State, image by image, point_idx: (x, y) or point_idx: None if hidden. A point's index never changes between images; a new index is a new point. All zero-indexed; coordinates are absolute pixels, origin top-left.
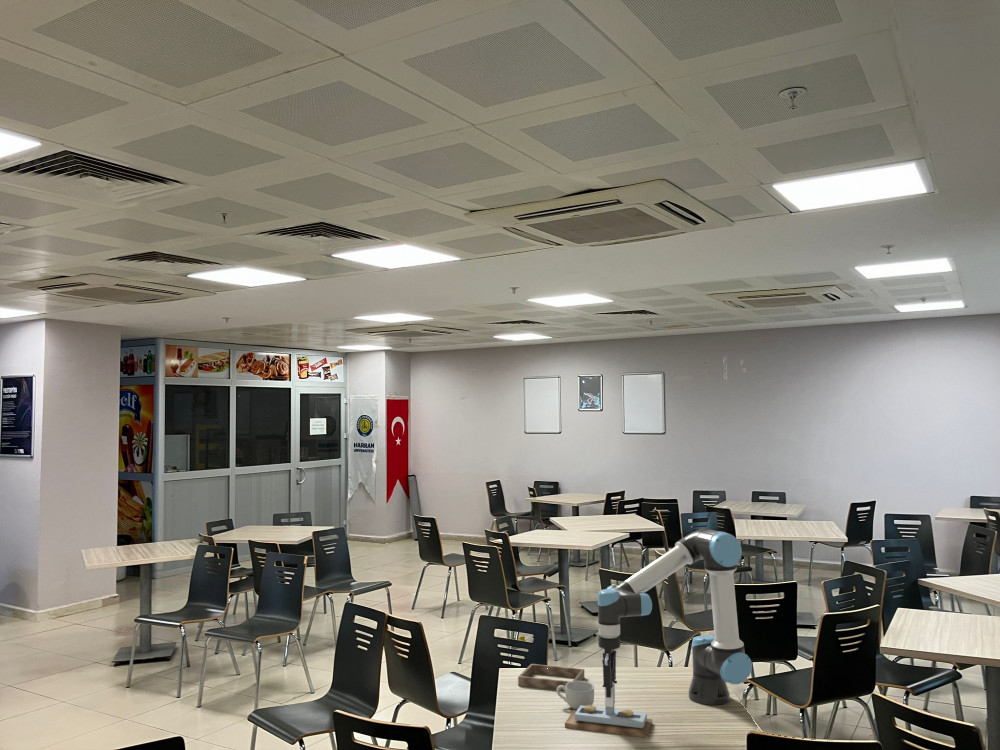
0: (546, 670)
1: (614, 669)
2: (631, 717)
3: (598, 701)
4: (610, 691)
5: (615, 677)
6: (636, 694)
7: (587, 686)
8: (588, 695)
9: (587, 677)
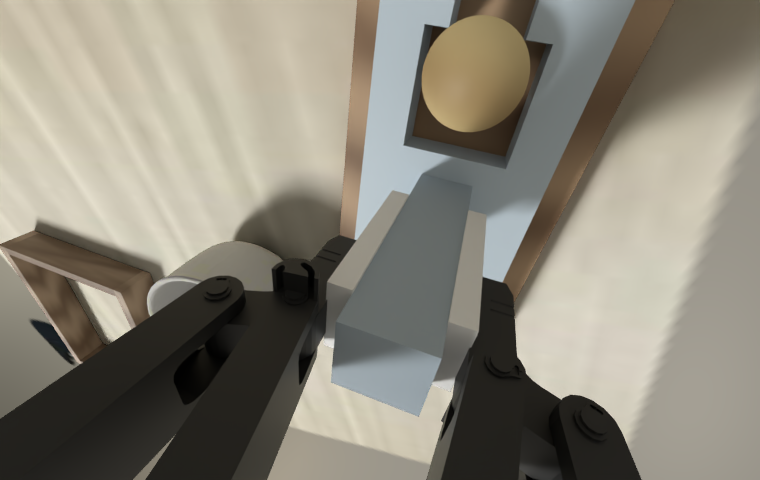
0: (76, 326)
1: (112, 412)
2: (429, 38)
3: (184, 205)
4: (498, 324)
5: (219, 299)
6: (16, 21)
7: (168, 287)
8: None
9: (24, 221)
